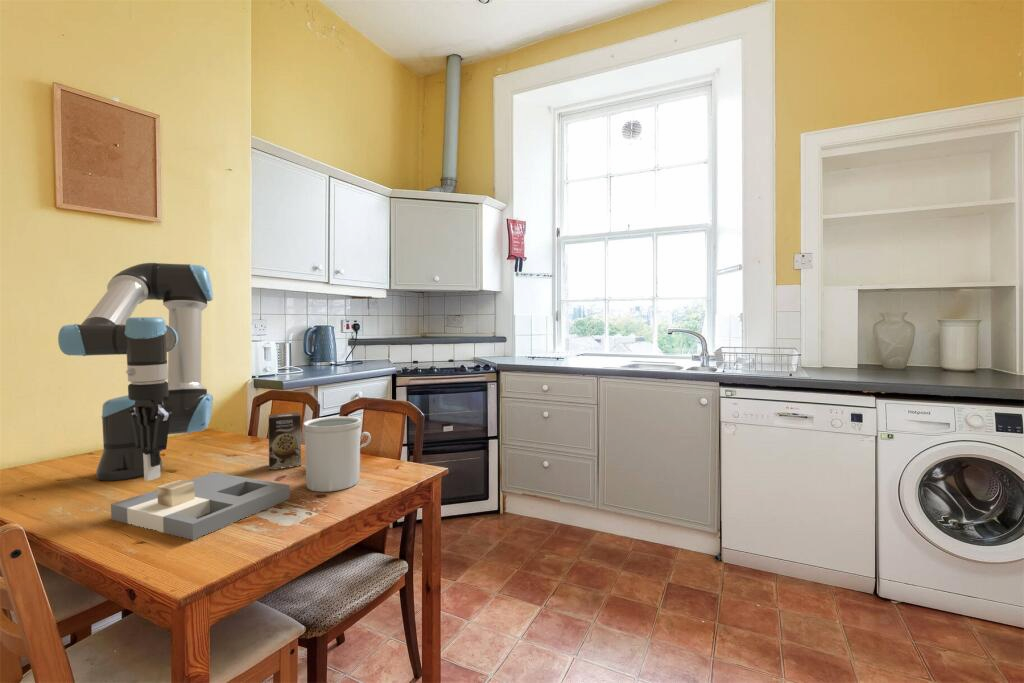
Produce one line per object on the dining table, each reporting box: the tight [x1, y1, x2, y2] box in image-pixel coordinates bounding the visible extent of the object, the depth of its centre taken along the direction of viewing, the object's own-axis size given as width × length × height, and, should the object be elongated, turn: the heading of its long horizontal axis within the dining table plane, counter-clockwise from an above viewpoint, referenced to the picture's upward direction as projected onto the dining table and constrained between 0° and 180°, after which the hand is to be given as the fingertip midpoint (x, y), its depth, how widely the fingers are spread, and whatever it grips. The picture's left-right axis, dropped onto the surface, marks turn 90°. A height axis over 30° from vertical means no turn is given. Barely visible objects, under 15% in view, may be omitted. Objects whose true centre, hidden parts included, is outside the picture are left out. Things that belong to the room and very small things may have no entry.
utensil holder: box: [302, 416, 362, 493], centre depth 126 cm, size 15×15×18 cm
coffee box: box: [268, 412, 302, 470], centre depth 143 cm, size 9×6×16 cm
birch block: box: [156, 479, 195, 507], centre depth 105 cm, size 5×5×4 cm
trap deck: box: [110, 471, 291, 541], centre depth 109 cm, size 28×24×4 cm
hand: (152, 478), depth 110 cm, fingers closed
